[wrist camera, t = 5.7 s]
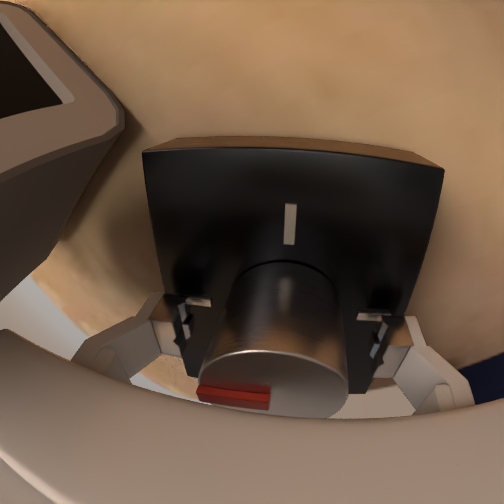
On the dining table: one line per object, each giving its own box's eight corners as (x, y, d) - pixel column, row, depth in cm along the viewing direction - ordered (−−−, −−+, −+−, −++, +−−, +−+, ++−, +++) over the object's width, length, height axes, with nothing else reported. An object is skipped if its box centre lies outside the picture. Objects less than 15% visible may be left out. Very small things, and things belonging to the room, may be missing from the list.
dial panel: (361, 354, 16) (365, 396, 13) (202, 339, 17) (186, 378, 14) (413, 151, 10) (447, 170, 7) (176, 138, 11) (138, 151, 8)
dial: (348, 263, 9) (366, 364, 6) (333, 348, 11) (334, 437, 8) (222, 258, 10) (178, 350, 6) (234, 342, 12) (209, 426, 8)
